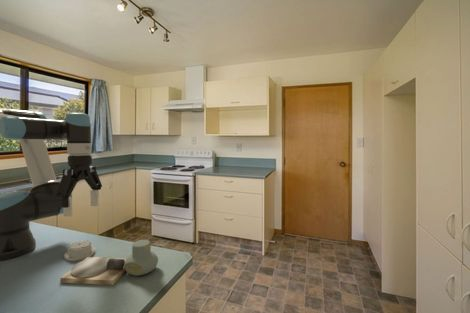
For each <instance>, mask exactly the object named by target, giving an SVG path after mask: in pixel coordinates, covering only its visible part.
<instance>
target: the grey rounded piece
mask: <svg viewBox="0 0 470 313" xmlns="http://www.w3.org/2000/svg"><path fill="white" fill-rule="evenodd" d="M131 252H132V253H131V254H130V255H129V256H127V258H125V259H126V261H125V263H124V268H125V270H126V271H125V272H127V273H128V274H129V275H132V276H137V277H138V276H143V275H146V274H149V273H151V272H152V271H154V269H156V267H157V265H158V263H159V258H158V256H157V254H156V253H155V252H153V251H151V241H150V240H147V239H139V240H136V241H134V242H133V243H132V246H131Z"/></svg>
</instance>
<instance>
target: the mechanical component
mask: <svg viewBox="0 0 470 313" xmlns="http://www.w3.org/2000/svg"><path fill="white" fill-rule="evenodd" d="M95 253H96V248H95V247H94V246H92V242H91V241H90V240H86V239H85V240H79V241H74V242H72V243H71V244H69V246H67V251H66V252H64V254H63V258H64V260H65V261H68V262H76V261H83V260H85V259H86V258H87V257H93V255H94V254H95Z"/></svg>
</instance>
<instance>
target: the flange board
mask: <svg viewBox="0 0 470 313" xmlns="http://www.w3.org/2000/svg"><path fill="white" fill-rule="evenodd" d="M126 259H127V258H119V257H115V258H114V257H107V256H90V257H87V258H85V259H82V260H80V261H79V262H77V263H76V264H75V265H73V266H72V267H71V269H70V270H68V271H67V272H66V273H65V274H64V275H62V276H61V277H60V278H59V280H60V283H68V284H85V285H88V284H89V285H103V286H104V285H106V286H113V285H115V284H116V282H117V281H118V280H119V279H120V278H121V277H122V276H123V275H124V273H126V272H127V271H126V270H125V268H124V263H125V261H126Z"/></svg>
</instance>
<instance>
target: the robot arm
mask: <svg viewBox="0 0 470 313" xmlns="http://www.w3.org/2000/svg"><path fill="white" fill-rule="evenodd" d="M91 126H92V125H91V120H90V115H89V114H87V113H83V112H82V113H80V112H68V113H66V115H65V120H60V119H59V120H58V119H48V118H47V117H46V116H45V114H44V113H42V112H40V111H34V110H22V109H13V108H12V109H11V108H3V107H0V136H1V138H3V139H6V140H7V139H8V140H15V141H16V142H19V143H20V147H21V150H22V154H23V157H24V161H25V164H26V168H27V171H28V174H29V178H30V181H31V185H32V187H30V189H29V191H28V190H25V189H19V190H10V191H5V192H2V193H0V261H5V260H10V259H13V258H18V257H21V256H22V255H26V254H28V253H30V252H31V251H33V250H35V248H36V246H37V244H36V243H37V241H36V239H35V237H34V235H33V233H32V231H31V227H30V222H32V221H36V220H38V221H39V220H42V219H45V218H50V217H58V216H59V215H63V217H73V194H72V193H73V191H74V189H75V188H76V186H77V183H79V182H80V181H81V180H82V181H83V180H84V181H85V182H86V184H87V185H88V187H90V189H91V190H90V191H89V192H90V194H89V195H90V196H89V197H90V207H99V190H102V187H103V184H102V182H101V180H100V177H99V174H98V172H97V167H96V166H95V165H92V164H93V158H92V157H93V155H90V154H92V135H91V134H92V130H91V129H92V128H91ZM45 140H54V141H66V150H67V151H66V152H67V155H68V156H67V165H68V166H69V167H70V168H69V169H64V168H63V170H62V176H61V180H60V181H59V180H57V176H56V173H55V171H54V167H53V164H52V161H51V158H50V155H49V151H48V147H47V146H46V142H45Z"/></svg>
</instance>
